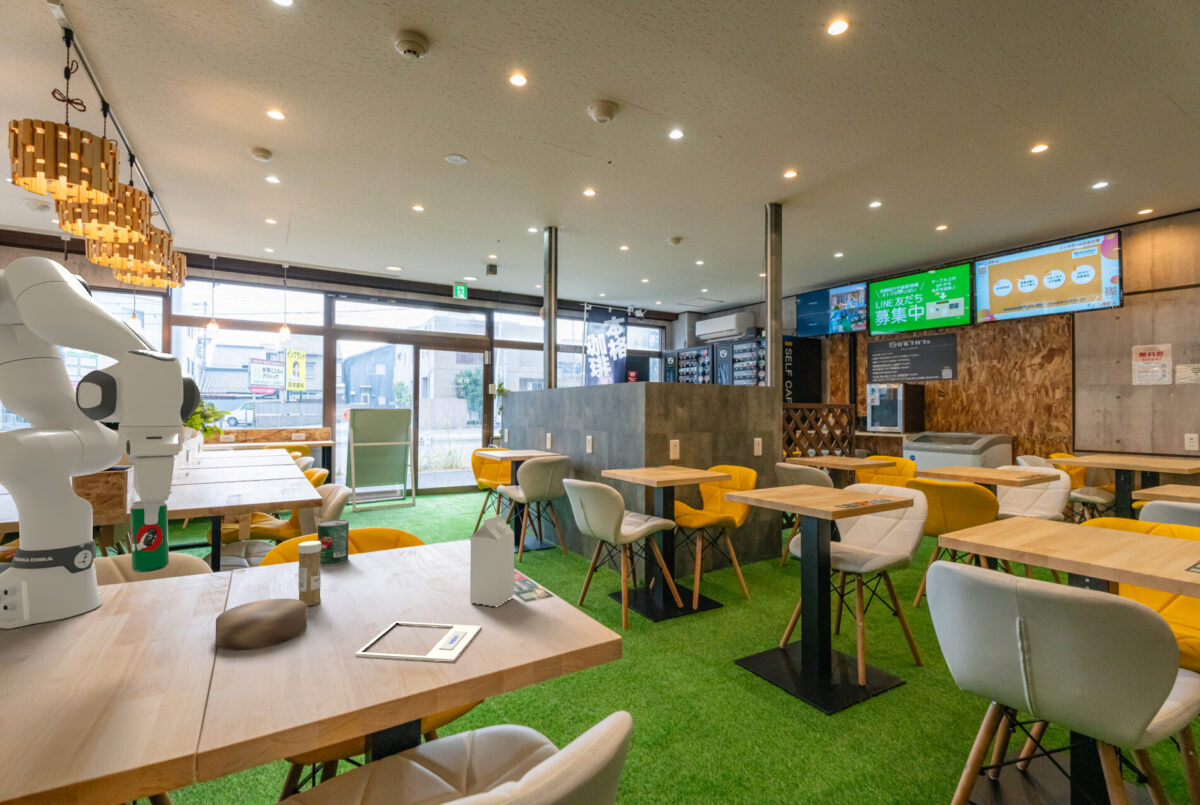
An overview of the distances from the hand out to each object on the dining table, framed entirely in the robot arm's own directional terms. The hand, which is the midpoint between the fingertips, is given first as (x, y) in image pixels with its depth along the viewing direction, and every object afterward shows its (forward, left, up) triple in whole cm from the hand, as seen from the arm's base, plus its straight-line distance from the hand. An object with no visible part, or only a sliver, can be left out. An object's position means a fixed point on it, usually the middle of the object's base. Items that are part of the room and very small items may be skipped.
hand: (149, 520), depth 98 cm
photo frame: (+46, +8, -24) cm, 53 cm away
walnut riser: (+14, +10, -24) cm, 29 cm away
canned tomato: (+3, +58, -24) cm, 63 cm away
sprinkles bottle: (+14, +26, -24) cm, 38 cm away
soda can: (+1, 0, -9) cm, 9 cm away
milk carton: (+54, +30, -24) cm, 66 cm away
